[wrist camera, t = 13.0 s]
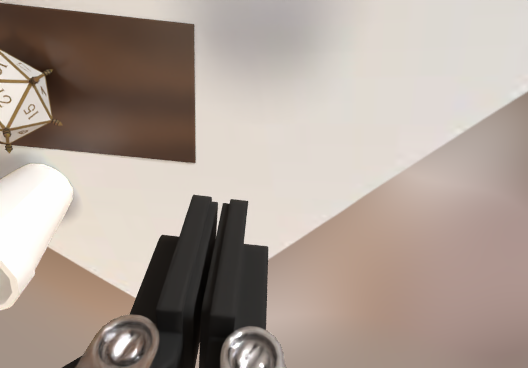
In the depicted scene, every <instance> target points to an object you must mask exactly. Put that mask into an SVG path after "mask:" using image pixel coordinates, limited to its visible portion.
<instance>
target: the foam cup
mask: <svg viewBox="0 0 528 368" xmlns="http://www.w3.org/2000/svg"><path fill="white" fill-rule="evenodd" d="M72 200H73V188H72V186H71V185H70V183H69V181H68V180H67V178H66V177H65V176H63V175H62V174H61V173H60V172H58V171H57V170H56V169H54V168H51V167H49V166H46V165H44V164H30V163H29V164H27V165H25V166H23V167H20V168H19V169H17V170H15V171H13V172H11V173H10V174H8V175H6V176H5V177H3V178H1V179H0V310H3V309H6V308H9V307H12V305H13V304H14V303H15V301H16V300H17V298H18V297H19V296H20V294H21V293H22V292H23V290H24V289H25V288H26V286H27V285H28V283H29V282H30V281H31V279H32V278H33V276H34V275H35V268H36V266H37V265H38V263H39V261H40V259H41V257H42V256H43V254H44V252H45V250H46V248H47V246H48V245H49V243H50V241H51V239H52V237H53V235H54V233H55V232H56V230H57V228H58V226H59V224H60V222H61V221H62V219H63V217H64V215H65V213H66V211H67V209H68V208H69V206H70V204H71V201H72Z"/></svg>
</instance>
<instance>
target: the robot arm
mask: <svg viewBox="0 0 528 368" xmlns="http://www.w3.org/2000/svg"><path fill="white" fill-rule="evenodd" d="M247 207H248V201H242V200H234V199H231V200H230V204H227V203H223V206H222V211H221V216H220V221H219V226H218V231H217V235H216V227H217V211H218V202H212V197H208V196H199V195H193V197H192V199H191V203H190V206H189V209H188V212H187V215H186V218H185V221H184V224H183V227H182V230H181V233H180V236H179V237H177V236H168V235H161V237H160V238H159V241H158V243H157V246H156V248H155V251H154V253H153V256H152V258H151V261H150V264H149V266H148V269H147V271H146V274H145V276H144V279H143V282H142V284H141V287H140V289H139V292H138V294H137V297H136V300H135V302H134V305H133V307H132V310H131V312H130V315H125V316H120V317H118V318H116V319H113V320H111V321H110V322H109V323H107V324H106V325H104V326H103V327H102V328H101V329H100V330H99V332H98V333H97V334H96V335H95V337H94V339H93V340H92V342H91V343H90V345H89V346H88V348H87V349H86V351H85V353H84V354H83V356H81V357H79V358H77V359H76V360H74V361H73V362H71V363H69V364H67V365H66V366H64V367H63V368H195V364H196V359H197V354H198V349H199V343H200V356H199V368H286V365H285V360H284V354H283V351H282V347H281V344H280V343H279V342H278V340H277V339H276V337H275V336H274V335H272V334H271V333H270V332H268V331H267V330H266V308H267V274H268V247H267V246H258V245H249V244H244V235H245V225H246V216H247Z"/></svg>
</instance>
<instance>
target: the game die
mask: <svg viewBox="0 0 528 368" xmlns="http://www.w3.org/2000/svg"><path fill="white" fill-rule="evenodd" d="M52 71H53V70H52V69H47V70H44V72H41V71H39V70H37V69H35V68H33V67H32V66H30V65H28V64H26V63H25V62H23V61H21V60H19V59H17V58H16V57H14V56H12V55H10V54H8V53H7V52H5V51H3V50H1V49H0V142H2V143H4V144H6V146H5V147H6V149H5V150H7V151H8V152H9V153H10V152H11V150H12V149H13V148H12V146H11V143H13V142H14V141H16V140H18V139H20V138H22V137H24V136H26V135H28V134H30V133H32V132H34V131H35V130H37V129H39V128H41V127H43V126H45V125H47V124H49V123H51V122H52V123H53V124H54V125H57V126H62V123H61V122H60V120H59V121H58V120H57V119H56V120H55V119H53V116H52V111H51V105H50V99H49V94H48V88H47V82H46V76H47V75H48V76H49V75H51V73H52Z"/></svg>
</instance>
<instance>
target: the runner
mask: <svg viewBox="0 0 528 368" xmlns="http://www.w3.org/2000/svg"><path fill="white" fill-rule="evenodd" d="M0 49H1V50H3V51H5V52H7V53H8V54H10V55H12V56H14V57H16V58H17V59H19V60H21V61H23V62H25V63H26V64H28V65H30V66H32V67H33V68H35V69H37V70H39V71H41V72H44V70H47V69H52V70H53V71H52V73H51V75H49V76H48V75H47V76H46V82H47V88H48V94H49V99H50V105H51V111H52V116H53V119H55V120H56V119H57V120H58V121H59V120H60V122H61V123H62V126H57V125H54V124H53V123H52V122H51V123H49V124H47V125H45V126H43V127H41V128H39V129H37V130H35V131H34V132H32V133H30V134H28V135H26V136H24V137H22V138H20V139H18V140H16V141H14V142H13V143H11V145H18V146H28V147H38V148H48V149H59V150H69V151H79V152H89V153H99V154H109V155H120V156H130V157H140V158H150V159H160V160H171V161H181V162H191V163H195V77H194V24H185V23H176V22H167V21H158V20H149V19H140V18H131V17H122V16H113V15H104V14H95V13H86V12H76V11H67V10H58V9H49V8H40V7H31V6H22V5H13V4H4V3H0ZM0 144H4V143H2V142H0Z"/></svg>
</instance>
